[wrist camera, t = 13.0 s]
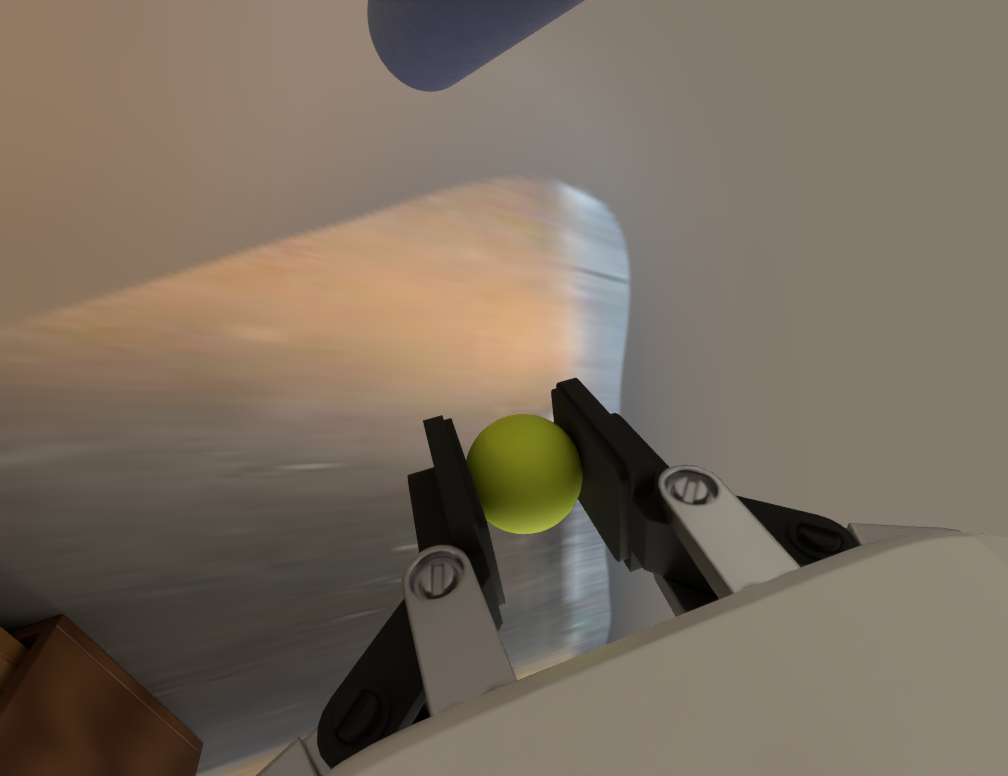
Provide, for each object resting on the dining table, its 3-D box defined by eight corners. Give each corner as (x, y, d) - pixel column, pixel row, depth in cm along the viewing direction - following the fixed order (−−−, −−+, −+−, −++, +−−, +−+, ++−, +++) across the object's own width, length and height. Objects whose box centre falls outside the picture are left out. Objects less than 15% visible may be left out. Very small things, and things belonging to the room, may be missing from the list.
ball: (477, 382, 11) (512, 451, 9) (572, 405, 13) (626, 471, 10) (440, 473, 13) (461, 557, 10) (530, 486, 14) (569, 563, 11)
